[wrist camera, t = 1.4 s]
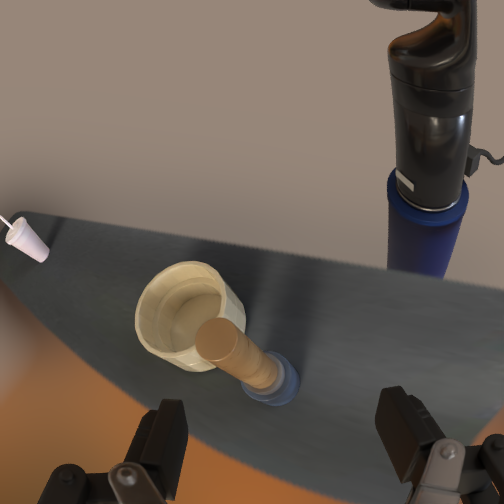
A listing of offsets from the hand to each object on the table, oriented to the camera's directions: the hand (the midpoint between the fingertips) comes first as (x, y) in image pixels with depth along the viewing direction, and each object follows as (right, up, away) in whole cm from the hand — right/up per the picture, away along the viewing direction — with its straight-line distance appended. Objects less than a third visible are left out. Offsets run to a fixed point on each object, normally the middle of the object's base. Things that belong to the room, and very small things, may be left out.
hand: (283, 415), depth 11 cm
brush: (+1, -6, +18) cm, 19 cm away
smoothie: (-46, +6, +46) cm, 66 cm away
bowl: (-7, -2, +24) cm, 25 cm away
